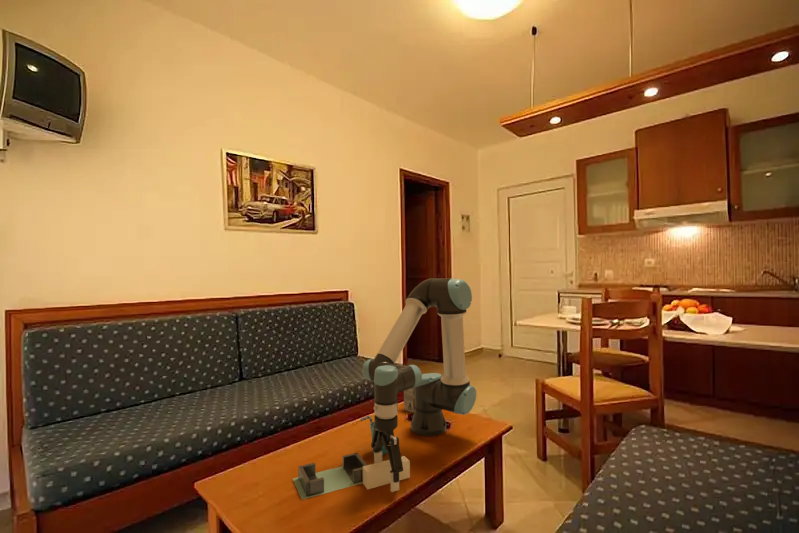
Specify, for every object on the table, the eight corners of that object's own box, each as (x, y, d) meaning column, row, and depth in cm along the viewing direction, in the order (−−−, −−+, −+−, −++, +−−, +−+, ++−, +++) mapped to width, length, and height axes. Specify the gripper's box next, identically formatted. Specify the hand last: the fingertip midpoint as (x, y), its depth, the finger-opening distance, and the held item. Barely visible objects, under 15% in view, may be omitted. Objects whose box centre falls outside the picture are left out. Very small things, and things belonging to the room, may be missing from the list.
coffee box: (415, 404, 198) (415, 372, 197) (425, 407, 193) (425, 375, 193) (403, 409, 191) (403, 376, 191) (413, 413, 186) (413, 379, 186)
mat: (361, 462, 141) (361, 461, 141) (375, 480, 129) (375, 479, 129) (292, 479, 130) (292, 478, 130) (301, 501, 118) (301, 499, 118)
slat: (404, 473, 134) (404, 455, 134) (409, 479, 130) (409, 461, 130) (362, 485, 127) (362, 466, 127) (367, 491, 123) (367, 472, 123)
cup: (366, 463, 140) (365, 421, 140) (356, 454, 147) (355, 414, 147) (399, 452, 148) (398, 412, 148) (388, 444, 154) (388, 406, 154)
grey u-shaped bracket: (357, 463, 139) (357, 452, 139) (369, 479, 129) (369, 467, 129) (342, 467, 137) (342, 455, 137) (354, 483, 126) (354, 471, 126)
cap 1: (306, 496, 120) (306, 483, 120) (298, 478, 130) (298, 466, 130) (324, 492, 122) (324, 479, 122) (314, 474, 132) (314, 462, 132)
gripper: (361, 404, 137) (361, 466, 138) (391, 431, 116) (392, 504, 116) (381, 401, 141) (381, 461, 141) (414, 426, 119) (414, 497, 119)
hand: (386, 481), depth 128 cm, fingers open, 12 cm apart
